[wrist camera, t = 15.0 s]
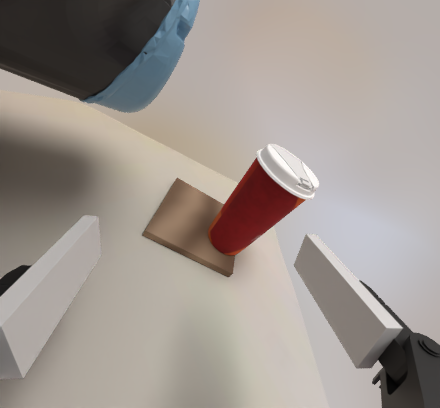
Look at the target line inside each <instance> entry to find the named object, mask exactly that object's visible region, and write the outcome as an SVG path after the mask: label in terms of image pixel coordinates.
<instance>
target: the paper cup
mask: <svg viewBox="0 0 440 408" xmlns="http://www.w3.org/2000/svg"><path fill="white" fill-rule="evenodd" d="M256 156H257V158H256V159H255V161H254V162H253V164H252V165H251V167H250V168H249V169H248V171H247V172H246V174H245V175H244V177H243V178H242V180H241V181H240V182H239V184H238V185H237V187H236V188H235V190H234V191H233V193H232V194H231V195H230V197H229V198H228V200H227V201H226V203H225V204H224V206H223V207H222V209H221V210H220V212H219V213H218V215H217V216H216V217H215V219H214V221H213V222H212V224H211V225H210V227H209V230H208V236H209V239H210V242H211V243H212V245H213V246H214V247H215V248H216V249H217V250H218V251H219V252H221V253H223V254H225V255H230V256H232V255H236V254H238V253H239V252H241V251H242V250H243V249H245V248H246V247H247V246H249V245H250V244H251V243H252V242H254V241H255V240H256V239H257V238H259V237H260V236H261V235H262V234H264V233H265V232H266V231H267V230H269V229H270V228H271V227H272V226H274V225H275V224H276V223H277V222H279V221H280V220H281V219H282V218H284V217H285V216H286V215H287V214H289V213H290V212H291V211H292V210H294V209H295V208H296V207H297V206H298V205H300V204H301V203H302V202H304V201H305V200H310V199H312V198H313V197H314V192H315V191H316V189H317V188H318V186H319V182H318V180H317V178H316V176H315V175H314V174H313V172H312V171H311V170H310V169H309V168H308V167H307V166H306V165H305V164H304V163H303V162H302V161H301V160H300V159H298V158H297V157H296V156H295V155H293V154H292V153H290V152H289V151H287V150H286V149H284V148H282V147H280V146H278V145H275V144H269V145H267V146H266V147H265V148H264V149H261V150H259V151H257V154H256Z"/></svg>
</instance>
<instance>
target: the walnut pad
mask: <svg viewBox="0 0 440 408" xmlns="http://www.w3.org/2000/svg"><path fill="white" fill-rule="evenodd" d="M223 206H224V204H222V203H220V202H218V201H217V200H215V199H213V198H211V197H210V196H208V195H206V194H205V193H203V192H201V191H199V190H198V189H196V188H194V187H192V186H191V185H189V184H187V183H185V182H184V181H182V180H180V179H179V178H177V179H176V180H175V182H174V184H173V185H172V187H171V189H170V190H169V192H168V194H167V195H166V197H165V198H164V200H163V202H162V203H161V205H160V207H159V208H158V210H157V212H156V213H155V215H154V217H153V218H152V220H151V221H150V223H149V225H148V226H147V228H146V230H145V231H144V233H143V236H145V237H147V238H149V239H151V240H153V241H156V242H158V243H160V244H162V245H164V246H166V247H168V248H170V249H172V250H174V251H176V252H178V253H180V254H182V255H184V256H186V257H188V258H190V259H192V260H194V261H196V262H198V263H201V264H203V265H205V266H207V267H209V268H211V269H213V270H215V271H217V272H219V273H221V274H223V275H225V276H227V277H229V276H231V275H232V274H233V267H234V257H235V255H232V256H230V255H225V254H223V253H221V252H219V251H218V250H217V249H216V248H215V247H214V246H213V245H212V243H211V242H210V239H209V236H208V230H209V227H210V225H211V224H212V222H213V221H214V219H215V217H216V216H217V215H218V213H219V212H220V210H221V209H222V207H223Z"/></svg>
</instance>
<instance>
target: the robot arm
mask: <svg viewBox="0 0 440 408" xmlns="http://www.w3.org/2000/svg"><path fill="white" fill-rule="evenodd" d="M199 2H200V0H0V69H3V70H5V71H8V72H11V73H13V74H16V75H18V76H21V77H24V78H26V79H29V80H31V81H34V82H37V83H39V84H42V85H45V86H47V87H50V88H53V89H55V90H58V91H60V92H63V93H66V94H68V95H71V96H73V97H76V98H78V99H79V100H80V101H82V102H87V103H96V104H100V105H102V106H105V107H108V108H112V109H114V110H118V111H121V112H127V113H131V112H138V111H140V110H142V109H144V108H145V107H146V106H148V105H149V104H150V103H151V102H152V101H153V100H154V99H155V98H156V97H157V95H158V94H159V93H160V91H161V90H162V88H163V87H164V85H165V84H166V82H167V81H168V79H169V77H170V75H171V74H172V72H173V70H174V68H175V67H176V65H177V62H178V60H179V58H180V56H181V54H182V52H183V49H184V39H185V38H186V36H187V35H188V33H189V31H190V30H191V28H192V26H193V23H194V20H195V17H196V14H197V10H198V6H199ZM101 255H102V250H101V239H100V229H99V218H98V216H88V215H84V216H83V217H82V218H80V219H79V220H78V221H77V222H76V223H75V224H74V225H73V226H72V227H71V228H70V229H69V230H68V231H67V232H66V233H65V234H64V235H63V236H62V237H61V238H60V239H59V240H58V241H57V242H56V243H55V244H54V245H53V246H52V247H51V248H50V249H49V250H48V251H47V252H46V253H45V254H44V255H43V256H42V257H41V258H40V259H39V260H38V261H37V262H35V263H34V264H33V265H32V266H27V265H21V266H20V267H18V268H16V269H14V270H12V271H11V272H9V273H7V274H6V275H5V276H3V277H2V278H1V279H0V379H23V378H24V377H25V375H26V374H27V372H28V370H29V369H30V367H31V366H32V364H33V363H34V361H35V359H36V358H37V356H38V355H39V353H40V351H41V350H42V348H43V347H44V345H45V344H46V342H47V340H48V339H49V337H50V336H51V334H52V332H53V331H54V329H55V328H56V326H57V325H58V323H59V321H60V320H61V318H62V317H63V315H64V314H65V312H66V310H67V309H68V307H69V306H70V304H71V302H72V301H73V299H74V298H75V296H76V295H77V293H78V291H79V290H80V288H81V287H82V285H83V284H84V282H85V280H86V279H87V277H88V276H89V274H90V272H91V271H92V269H93V268H94V266H95V265H96V263H97V261H98V260H99V258H100V257H101ZM294 267H295V268H296V270H297V272H298V273H299V275H300V276H301V278H302V280H303V281H304V283H305V285H306V286H307V288H308V289H309V291H310V293H311V294H312V296H313V298H314V300H315V301H316V303H317V304H318V306H319V308H320V309H321V311H322V312H323V314H324V316H325V318H326V319H327V321H328V323H329V324H330V326H331V327H332V329H333V331H334V332H335V334H336V336H337V337H338V339H339V340H340V342H341V344H342V345H343V347H344V349H345V350H346V352H347V354H348V355H349V357H350V359H351V360H352V362H353V363H354V365H355V367H356V368H372V367H373V365H374V364H375V363H376V362H377V360H379V362H380V363H381V365H382V366H383V368H382V369H381V370H380V371H379V372H378V374H377V375H376V376H375V377H374V378H373V381H372V383H373V384H374V385H375V384H376V383H377V382H378V381H379V380H380V381H381V385H380V386H379V388H381V398H382V408H440V345H439V344H437V343H436V342H435V341H433V340H432V339H430V338H429V337H427V336H424V335H422V334H420V333H413V332H412V331H411V330H410V329H409V328H408V327H407V326H406V325H405V324H404V322H403V321H402V320H401V319H399V317H398V316H397V315H396V314H395V313H394V312H393V311H392V310H391V309H390V308H389V307H388V306H387V305H385V303H384V302H383V300H382V299H381V298H379V297H378V295H377V294H376V293H375V292H374V291H373V290H372V289H371V288H370V287H368V286H367V285H366V284H364V283H363V282H362V281H360V280H358V279H357V278H356V277H355V276H354V275H353V274H352V273H351V272H350V271H349V270H348V269H347V267H346V266H345V265H344V264H343V263H342V262H341V261H340V260H339V259H338V258H337V257H336V255H335V254H333V252H332V251H331V250H330V249H329V248H328V247H327V246H326V245H325V244H324V243H323V241H322V240H320V238H319V237H318V236H317V235H313V234H306V235H305V238H304V240H303V243H302V246H301V248H300V251H299V253H298V256H297V258H296V261H295V263H294Z"/></svg>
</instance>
